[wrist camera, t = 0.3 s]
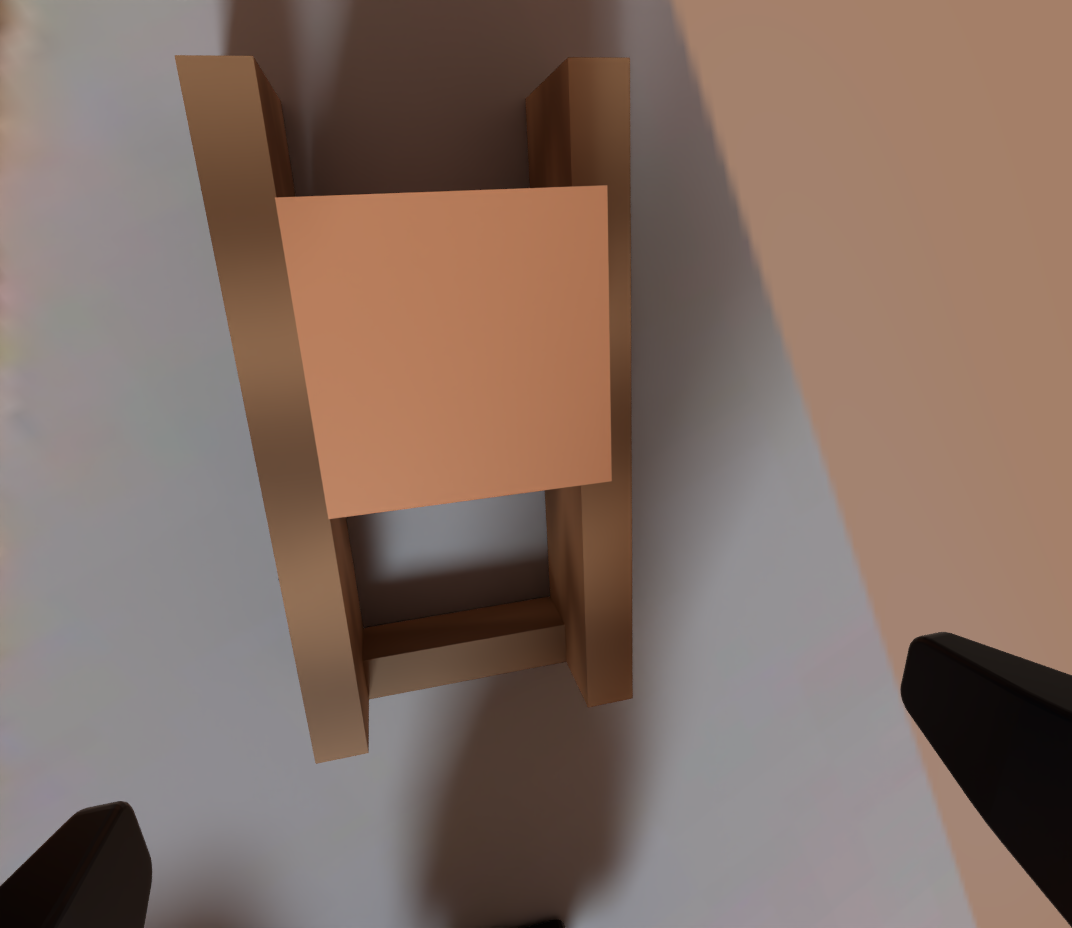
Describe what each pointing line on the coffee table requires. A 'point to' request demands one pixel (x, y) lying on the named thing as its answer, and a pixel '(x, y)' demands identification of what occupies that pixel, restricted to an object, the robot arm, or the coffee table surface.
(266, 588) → the coffee table surface
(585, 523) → the walnut chute
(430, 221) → the terracotta block
